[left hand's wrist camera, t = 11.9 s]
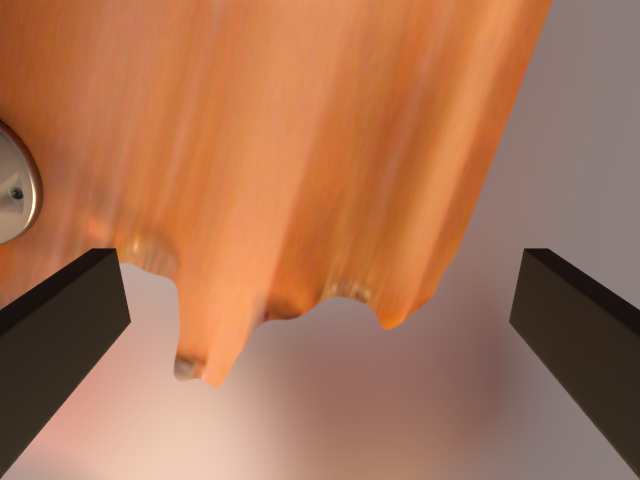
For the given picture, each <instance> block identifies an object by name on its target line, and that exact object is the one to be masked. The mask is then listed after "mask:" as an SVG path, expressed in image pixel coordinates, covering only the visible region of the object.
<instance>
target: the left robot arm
mask: <svg viewBox="0 0 640 480" xmlns="http://www.w3.org/2000/svg"><path fill="white" fill-rule="evenodd" d="M42 200H43V188H42V181H41V177H40V174H39V171H38V168H37V166H36V163H35V161H34V159H33V157H32V156H31V154H30V152H29V151H28V149H27V148H26V147H25V145H24V144H23V143H22V141H21V140H20V139H19V138H18V137H17V136H16V135H15V134H14V133H13V132H12V131H11V130H10V129H9V128H8V127H7V126H5V125H4V124H3V123H1V122H0V244H3V243H6V242H8V241H10V240H12V239H14V238H17V237H18V236H20V235H22V234H23V233H25V232H26V231H27V230H28V229H30V228H31V226H32V225H33V224H34V223H35V221H36V219H37V218H38V215H39V213H40V210H41V207H42ZM130 323H131V320H130V315H129V310H128V305H127V300H126V295H125V290H124V286H123V281H122V276H121V271H120V266H119V261H118V256H117V252H116V248H92V249H91V250H89V251H88V252H86V253H85V254H83V255H82V256H80V257H79V258H77V259H76V260H74V261H73V262H71V263H70V264H68V265H67V266H65V267H64V268H62V269H61V270H59V271H58V272H56V273H55V274H53V275H52V276H50V277H49V278H47V279H46V280H44V281H43V282H41V283H40V284H38V285H37V286H36V287H34V288H33V289H31V290H30V291H28V292H27V293H25V294H24V295H22V296H21V297H19V298H18V299H16V300H15V301H13V302H12V303H10V304H9V305H7V306H6V307H4V308H3V309H1V310H0V479H1V478H2V476H3V475H4V474H5V473H6V472H7V470H8V469H9V468H10V467H11V466H12V464H13V463H14V462H15V461H16V460H17V458H18V457H19V456H20V455H21V453H22V452H23V451H24V450H25V449H26V448H27V446H28V445H29V444H30V443H31V442H32V440H33V439H34V438H35V437H36V435H37V434H38V433H39V432H40V431H41V430H42V428H43V427H44V426H45V425H46V424H47V422H48V421H49V420H50V419H51V417H52V416H53V415H54V414H55V413H56V412H57V410H58V409H59V408H60V407H61V405H62V404H63V403H64V402H65V401H66V400H67V398H68V397H69V396H70V395H71V393H72V392H73V391H74V390H75V389H76V388H77V386H78V385H79V384H80V383H81V382H82V380H83V379H84V378H85V377H86V376H87V374H88V373H89V372H90V371H91V369H92V368H93V367H94V366H95V365H96V363H97V362H98V361H99V360H100V359H101V357H102V356H103V355H104V354H105V353H106V352H107V350H108V349H109V348H110V347H111V345H112V344H113V343H114V342H115V341H116V339H117V338H118V337H119V336H120V335H121V333H122V332H123V331H124V330H125V329H126V327H127V326H128V325H129V324H130ZM509 323H510V324H511V325H512V326H513V327H514V329H515V330H516V331H517V332H518V333H519V335H520V336H521V337H522V338H523V339H524V341H525V342H526V343H527V344H528V345H529V347H530V348H531V349H532V350H533V352H534V353H535V354H536V355H537V356H538V357H539V359H540V360H541V361H542V362H543V364H544V365H545V366H546V367H547V368H548V369H549V371H550V372H551V373H552V374H553V375H554V377H555V378H556V379H557V380H558V381H559V383H560V384H561V385H562V386H563V388H564V389H565V390H566V391H567V392H568V394H569V395H570V396H571V397H572V398H573V400H574V401H575V402H576V403H577V404H578V406H579V407H580V408H581V409H582V410H583V412H584V413H585V414H586V415H587V416H588V417H589V419H590V420H591V421H592V422H593V423H594V425H595V426H596V427H597V428H598V430H599V431H600V432H601V433H602V434H603V436H604V437H605V438H606V439H607V440H608V442H609V443H610V444H611V445H612V446H613V448H614V449H615V450H616V451H617V452H618V454H619V455H620V456H621V457H622V458H623V460H624V461H625V462H626V463H627V464H628V466H629V467H630V468H631V469H632V470H633V472H634V473H635V474H636V475H637V476H638V478H639V479H640V310H639V309H637V308H636V307H634V306H633V305H631V304H630V303H628V302H627V301H625V300H624V299H622V298H621V297H619V296H618V295H616V294H615V293H613V292H612V291H610V290H609V289H607V288H606V287H604V286H603V285H601V284H600V283H599V282H597V281H596V280H594V279H593V278H591V277H590V276H588V275H587V274H585V273H584V272H582V271H581V270H579V269H578V268H576V267H575V266H573V265H572V264H570V263H569V262H567V261H566V260H564V259H563V258H561V257H560V256H558V255H557V254H555V253H554V252H552V251H551V250H549V249H546V248H541V249H540V248H538V249H535V248H533V249H532V248H529V249H528V248H527V249H524V252H523V257H522V261H521V266H520V271H519V276H518V281H517V286H516V290H515V295H514V300H513V305H512V310H511V315H510V319H509Z"/></svg>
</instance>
